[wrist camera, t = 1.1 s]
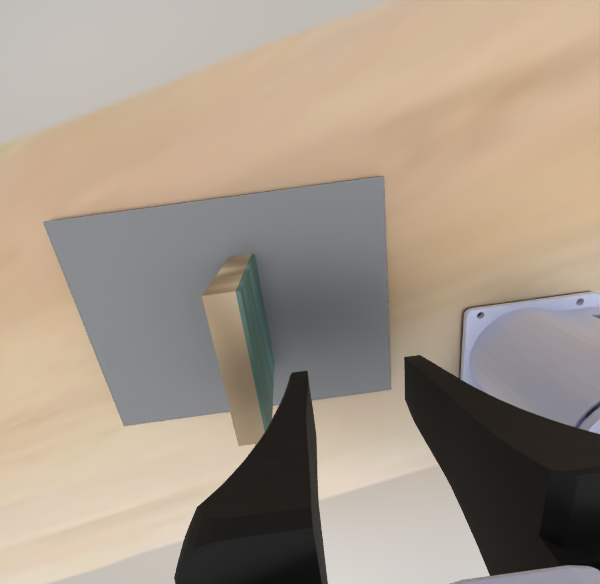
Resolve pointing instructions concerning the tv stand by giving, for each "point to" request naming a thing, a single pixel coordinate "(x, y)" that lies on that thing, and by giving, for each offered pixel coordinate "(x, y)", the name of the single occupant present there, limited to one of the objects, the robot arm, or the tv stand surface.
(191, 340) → the mat
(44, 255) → the tv stand surface
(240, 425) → the tile
